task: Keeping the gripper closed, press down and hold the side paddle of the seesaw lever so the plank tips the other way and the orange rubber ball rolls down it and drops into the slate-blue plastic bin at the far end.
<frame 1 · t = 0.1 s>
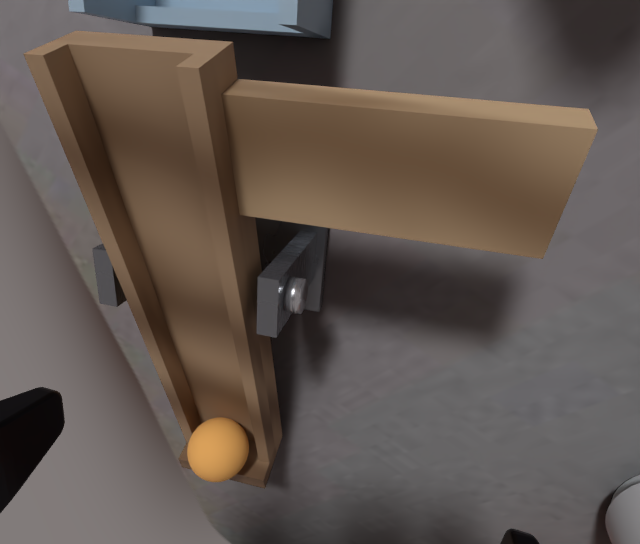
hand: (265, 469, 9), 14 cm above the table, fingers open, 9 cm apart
ball: (218, 448, 24), point 4 cm above the table, touching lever
stand: (246, 240, 23), on the table
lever: (306, 349, 18), point 5 cm above the table, hinge at -19.2°, touching ball
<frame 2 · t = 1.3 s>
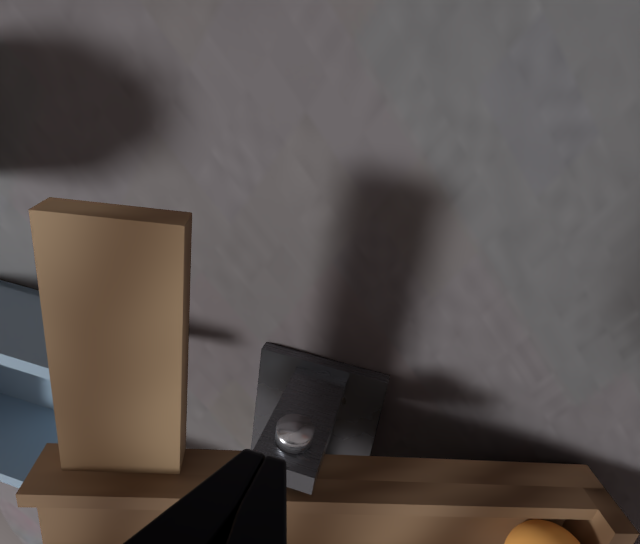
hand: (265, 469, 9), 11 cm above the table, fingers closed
bin: (59, 358, 26), on the table
stand: (314, 426, 23), on the table
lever: (354, 443, 16), point 5 cm above the table, hinge at -19.2°, touching ball
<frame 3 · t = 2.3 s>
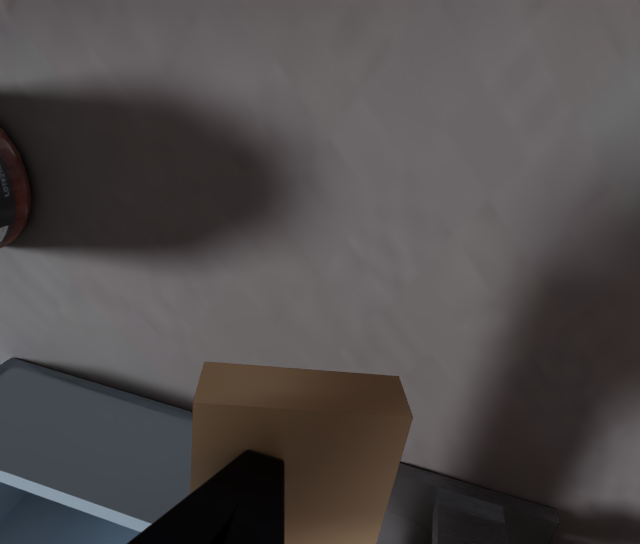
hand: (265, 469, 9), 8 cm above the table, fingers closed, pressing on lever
bin: (123, 459, 22), on the table
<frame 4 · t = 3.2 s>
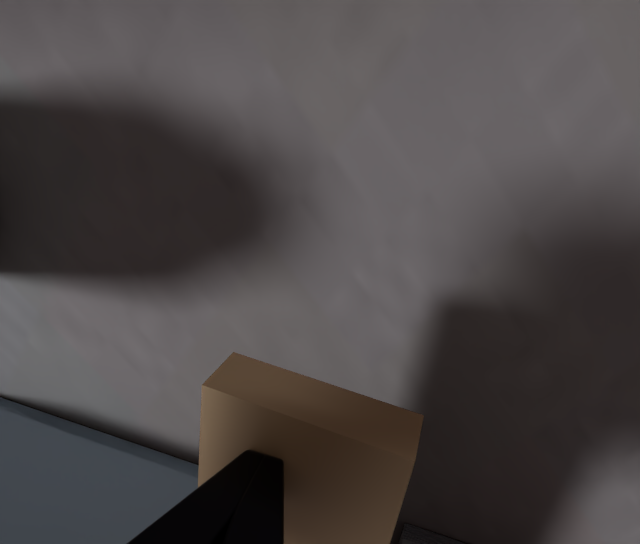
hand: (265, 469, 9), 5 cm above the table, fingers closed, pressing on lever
bin: (102, 503, 19), on the table
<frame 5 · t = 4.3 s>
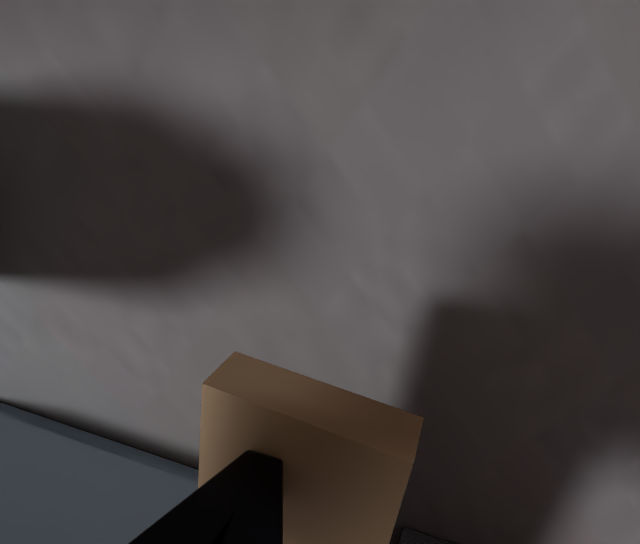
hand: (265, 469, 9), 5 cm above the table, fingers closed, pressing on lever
bin: (98, 507, 19), on the table
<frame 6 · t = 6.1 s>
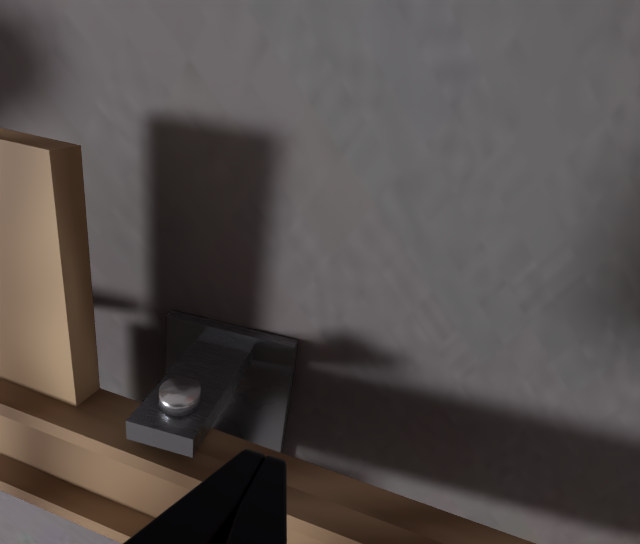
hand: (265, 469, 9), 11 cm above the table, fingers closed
stand: (228, 398, 22), on the table
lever: (217, 418, 14), point 6 cm above the table, hinge at 5.2°
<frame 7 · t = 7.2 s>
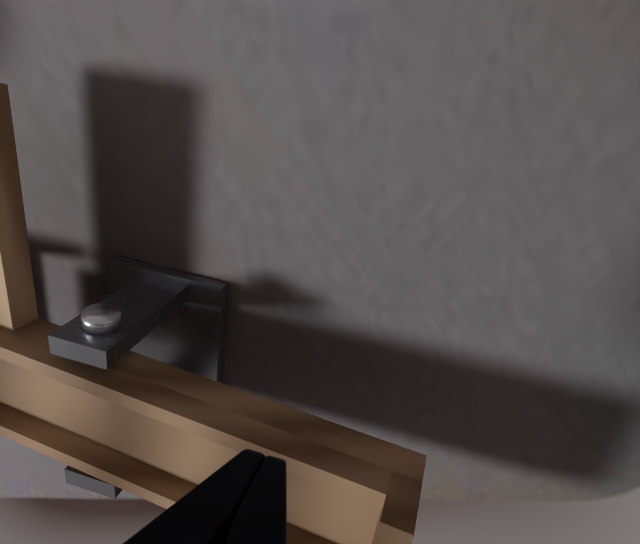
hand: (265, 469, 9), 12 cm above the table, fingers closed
stand: (169, 341, 24), on the table
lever: (126, 331, 16), point 6 cm above the table, hinge at 5.2°
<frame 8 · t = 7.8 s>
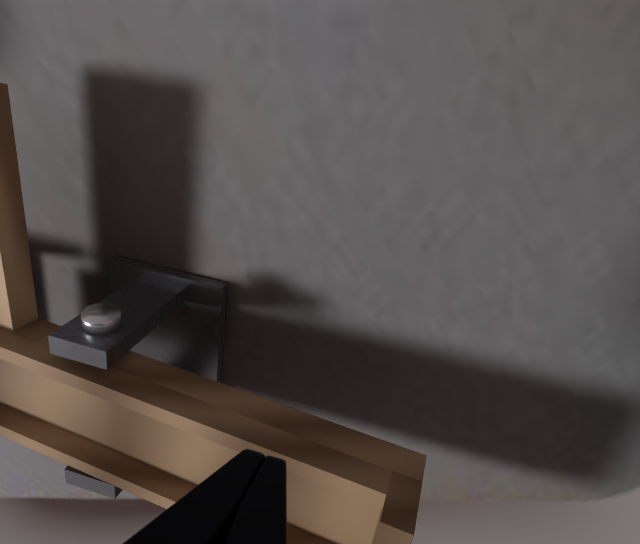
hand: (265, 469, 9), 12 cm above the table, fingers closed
stand: (169, 341, 24), on the table
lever: (126, 331, 16), point 6 cm above the table, hinge at 5.2°
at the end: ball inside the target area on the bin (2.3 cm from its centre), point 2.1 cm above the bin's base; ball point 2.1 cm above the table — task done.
